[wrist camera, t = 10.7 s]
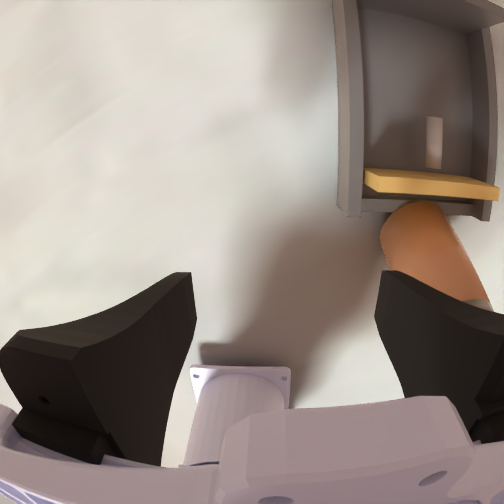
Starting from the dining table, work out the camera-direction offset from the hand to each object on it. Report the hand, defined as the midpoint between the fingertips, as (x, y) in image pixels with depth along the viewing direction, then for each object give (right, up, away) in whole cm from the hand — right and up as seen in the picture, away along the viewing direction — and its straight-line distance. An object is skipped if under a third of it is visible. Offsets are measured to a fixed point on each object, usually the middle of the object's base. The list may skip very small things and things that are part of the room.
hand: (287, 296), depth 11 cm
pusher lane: (+9, +11, +5) cm, 15 cm away
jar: (+9, +3, +7) cm, 12 cm away
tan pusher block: (+9, +8, +5) cm, 13 cm away
